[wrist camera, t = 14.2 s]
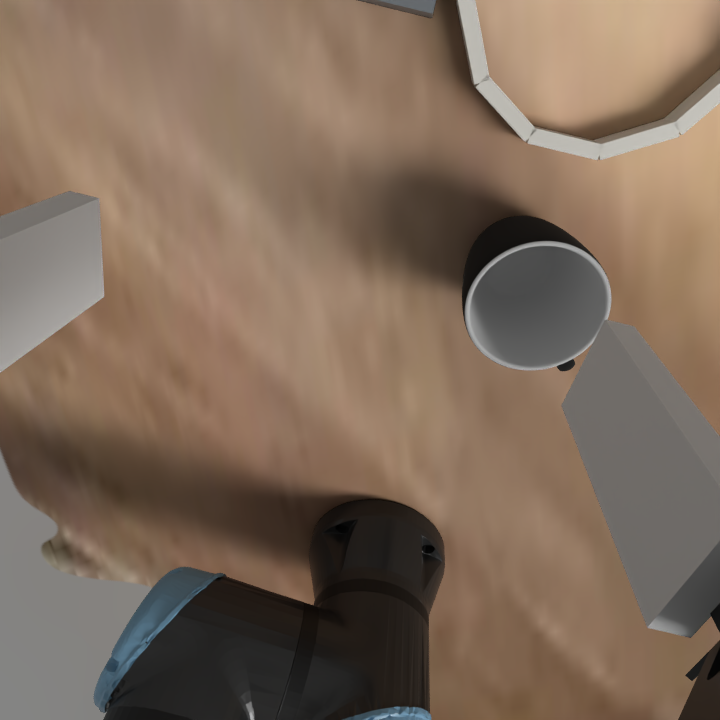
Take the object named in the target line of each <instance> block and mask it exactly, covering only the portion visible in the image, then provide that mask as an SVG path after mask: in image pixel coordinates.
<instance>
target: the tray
mask: <svg viewBox="0 0 720 720" xmlns="http://www.w3.org/2000/svg"><path fill="white" fill-rule="evenodd" d="M358 1H362V2H366V3H371V4H375V5H379V6H383V7H387V8H391V9H395V10H399V11H403V12H408V13H412V14H416V15H420V16H424V17H428V18H432V16H433V12H434V8H435V4H436V0H358Z"/></svg>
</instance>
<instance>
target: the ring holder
mask: <svg viewBox="0 0 720 720" xmlns="http://www.w3.org/2000/svg"><path fill="white" fill-rule="evenodd" d="M456 5H457V10H458V15H459V20H460V25H461V30H462V35H463V40H464V45H465V50H466V55H467V60H468V65H469V70H470V75H471V80H472V84H474V87H475V88H476V89H477V91H478V92H479V93H480V94H481V95H482V96H483V97H484V98H485V99H486V101H487V102H488V103H489V104H490V105H491V106H492V107H493V108H494V109H495V110H496V112H497V113H498V114H499V115H500V116H501V117H502V118H503V119H504V120H505V122H506V123H507V124H508V125H509V126H510V127H511V128H512V129H513V130H514V131H515V133H516V134H517V135H518V136H519V137H520V138H521V139H522V140H523V141H525V142H526V143H528V144H532V145H537V146H541V147H545V148H549V149H553V150H557V151H561V152H565V153H570V154H574V155H578V156H582V157H586V158H590V159H594V160H598V159H599V160H602V159H606V158H609V157H612V156H616V155H619V154H622V153H626V152H629V151H633V150H636V149H639V148H643V147H646V146H649V145H653V144H656V143H660V142H663V141H666V140H670V139H673V138H677V137H679V134H680V135H683V134H684V133H685V132H686V131H687V130H689V129H690V128H691V127H692V126H693V125H695V124H696V123H697V122H698V121H699V120H700V119H702V118H703V117H704V116H705V115H706V114H707V113H709V112H710V111H711V110H712V109H713V108H714V107H716V106H717V105H718V104H719V103H720V69H719V70H718V71H717V72H716V73H715V74H714V75H712V76H711V77H710V78H709V79H708V80H707V81H706V82H705V83H703V84H702V85H701V86H700V87H699V88H698V89H697V90H696V91H694V92H693V93H692V94H691V95H690V96H689V97H688V98H686V99H685V100H684V101H683V102H682V103H681V104H680V105H679V106H677V107H676V108H675V109H674V110H673V111H672V112H671V113H670V114H668V115H667V116H666V117H665V118H664V119H661V120H658V121H655V122H651V123H648V124H645V125H641V126H638V127H635V128H632V129H628V130H625V131H622V132H619V133H615V134H612V135H609V136H605V137H602V138H599V139H596V140H590V139H586V138H582V137H578V136H573V135H569V134H565V133H561V132H557V131H553V130H549V129H545V128H540V127H536V126H533V125H532V124H531V123H530V122H529V121H528V119H527V118H526V117H525V116H524V115H523V114H522V113H521V112H520V110H519V109H518V108H517V107H516V106H515V105H514V104H513V103H512V101H511V100H510V99H509V98H508V97H507V96H506V95H505V94H504V92H503V91H502V90H501V89H500V88H499V87H498V86H497V85H496V83H495V82H494V81H493V80H492V79H491V78H490V77H489V72H488V67H487V61H486V56H485V51H484V45H483V40H482V34H481V29H480V24H479V18H478V13H477V7H476V2H475V0H456Z"/></svg>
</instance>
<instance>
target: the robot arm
mask: <svg viewBox="0 0 720 720" xmlns="http://www.w3.org/2000/svg"><path fill="white" fill-rule="evenodd" d="M103 297H104V282H103V263H102V243H101V223H100V203H99V198H96V197H92V196H88V195H84V194H80V193H75V192H71V191H68V192H66V193H63V194H60V195H57V196H55V197H52V198H49V199H46V200H44V201H41V202H38V203H35V204H33V205H30V206H27V207H25V208H22V209H19V210H16V211H14V212H11V213H8V214H5V215H3V216H0V372H2V371H3V370H5V369H6V368H7V367H9V366H10V365H11V364H13V363H14V362H15V361H17V360H18V359H20V358H21V357H22V356H24V355H25V354H26V353H28V352H29V351H31V350H32V349H33V348H35V347H36V346H37V345H39V344H40V343H42V342H43V341H44V340H46V339H47V338H48V337H50V336H51V335H52V334H54V333H55V332H57V331H58V330H59V329H61V328H62V327H63V326H65V325H66V324H68V323H69V322H70V321H72V320H73V319H74V318H76V317H77V316H78V315H80V314H81V313H83V312H84V311H85V310H87V309H88V308H89V307H91V306H92V305H94V304H95V303H96V302H98V301H99V300H100V299H102V298H103ZM562 408H563V411H564V414H565V416H566V419H567V421H568V424H569V427H570V429H571V432H572V434H573V437H574V439H575V442H576V445H577V447H578V450H579V452H580V455H581V458H582V460H583V463H584V465H585V468H586V470H587V473H588V476H589V478H590V481H591V483H592V486H593V489H594V491H595V494H596V496H597V499H598V501H599V504H600V507H601V509H602V512H603V514H604V517H605V519H606V522H607V525H608V527H609V530H610V532H611V535H612V538H613V540H614V543H615V545H616V548H617V550H618V553H619V556H620V558H621V561H622V563H623V566H624V569H625V571H626V574H627V576H628V579H629V581H630V584H631V587H632V589H633V592H634V594H635V597H636V600H637V602H638V605H639V607H640V610H641V612H642V615H643V618H644V620H645V623H646V625H647V628H651V629H656V630H660V631H664V632H668V633H673V634H677V635H681V636H685V637H690V638H691V637H692V636H693V635H694V634H695V633H696V632H697V631H698V629H699V628H700V627H701V626H702V625H703V624H704V623H705V622H706V621H707V620H708V619H709V618H710V617H711V616H712V618H713V620H714V622H715V624H716V626H717V628H718V630H719V632H720V436H719V435H718V434H717V433H716V431H715V430H714V429H713V427H712V426H711V425H710V424H709V422H708V421H707V420H706V418H705V417H704V416H703V415H702V413H701V412H700V411H699V409H698V408H697V407H696V406H695V404H694V403H693V402H692V400H691V399H690V398H689V396H688V395H687V394H686V393H685V391H684V390H683V389H682V387H681V386H680V385H679V384H678V382H677V381H676V380H675V378H674V377H673V376H672V375H671V373H670V372H669V371H668V369H667V368H666V367H665V366H664V364H663V363H662V362H661V360H660V359H659V358H658V357H657V355H656V354H655V353H654V351H653V350H652V349H651V348H650V346H649V345H648V344H647V342H646V341H645V340H644V338H643V337H642V336H641V335H640V333H639V332H638V331H637V329H636V328H635V327H634V326H630V325H626V324H622V323H618V322H614V321H609V320H604V322H603V324H602V326H601V328H600V330H599V332H598V334H597V336H596V338H595V340H594V342H593V344H592V346H591V348H590V350H589V352H588V354H587V356H586V358H585V360H584V362H583V364H582V366H581V368H580V370H579V372H578V374H577V376H576V378H575V380H574V382H573V384H572V386H571V388H570V390H569V392H568V394H567V396H566V398H565V400H564V402H563V404H562ZM309 561H310V569H311V576H312V583H313V591H314V598H315V601H314V606H313V605H310V604H307V603H304V602H302V601H298V600H295V599H292V598H289V597H286V596H283V595H280V594H276V593H273V592H270V591H267V590H264V589H261V588H259V587H256V586H253V585H250V584H247V583H244V582H241V581H238V580H235V579H232V578H229V577H227V576H226V575H225V574H223V573H217V574H214V573H210V572H206V571H202V570H198V569H195V568H191V567H179V568H176V569H174V570H172V571H170V572H168V573H167V574H166V575H165V576H164V577H162V578H161V579H160V580H159V581H158V582H157V584H156V585H155V586H154V587H153V588H152V589H151V591H150V592H149V593H148V595H147V596H146V597H145V599H144V600H143V601H142V603H141V604H140V606H139V607H138V609H137V610H136V612H135V613H134V615H133V616H132V618H131V619H130V621H129V623H128V624H127V626H126V628H125V629H124V631H123V633H122V634H121V636H120V638H119V640H118V641H117V643H116V645H115V647H114V649H113V651H112V657H111V658H110V659H109V661H108V662H107V664H106V666H105V668H104V670H103V671H102V673H101V675H100V678H99V680H98V683H97V685H96V689H95V692H94V702H95V705H96V706H97V707H98V708H99V710H100V711H101V712H104V713H105V712H107V713H106V715H105V717H104V719H103V720H431V715H430V694H429V614H430V611H431V608H432V605H433V603H434V600H435V597H436V594H437V592H438V589H439V586H440V583H441V581H442V578H443V574H444V568H445V554H444V543H443V540H442V537H441V535H440V533H439V532H438V530H437V529H436V527H435V526H434V525H433V524H432V523H431V522H430V521H429V520H428V519H427V518H425V517H424V516H423V515H421V514H420V513H418V512H416V511H415V510H413V509H411V508H408V507H406V506H403V505H400V504H397V503H393V502H389V501H382V500H360V501H354V502H349V503H346V504H343V505H340V506H338V507H336V508H334V509H332V510H330V511H329V512H328V513H326V514H325V515H324V516H323V517H322V518H321V519H320V520H319V522H318V523H317V525H316V527H315V529H314V532H313V536H312V540H311V544H310V549H309ZM685 676H687V677H688V678H689V679H690V680H692V681H693V680H694V679H695V678H696V677H697V676H698V677H697V679H696V682H695V684H694V686H693V688H692V691H691V693H690V695H689V697H688V699H687V702H686V704H685V706H684V708H683V710H682V713H681V715H680V717H679V719H678V720H720V641H719V642H718V643H717V644H716V645H715V646H714V647H713V648H712V649H711V650H710V651H709V652H708V653H707V654H706V655H705V656H704V657H703V658H702V659H701V660H700V661H699V662H698V663H697V664H696V665H695V666H694V667H693V668H692V669H691V670H690V671H689V672H688V673H687V674H686V675H685Z"/></svg>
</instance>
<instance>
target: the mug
mask: <svg viewBox="0 0 720 720" xmlns="http://www.w3.org/2000/svg"><path fill="white" fill-rule="evenodd" d="M462 306H463V315H464V321H465V325H466V329H467V331H468V334H469V336H470V338H471V340H472V341H473V343H474V344H475V346H476V347H477V348H478V349H479V350H480V351H481V352H482V353H483V354H484V355H485V356H486V357H488V358H489V359H491V360H492V361H494V362H496V363H498V364H500V365H503V366H505V367H509V368H513V369H518V370H541V369H547V368H551V367H555V366H557V368H558V369H559V370H560V371H567V370H570V369H571V368H573V367H574V365H575V362H574V360H573V358H575V357H577V356H578V355H579V354H581V353H582V352H583V351H585V350H586V349H587V348H588V347H589V346H590V345H591V344H592V343H593V342H594V340H595V338H596V336H597V334H598V332H599V330H600V328H601V326H602V324H603V322H604V320H607V319H608V316H609V312H610V308H611V289H610V285H609V281H608V278H607V275H606V273H605V271H604V269H603V268H602V266H601V265H600V263H599V262H598V261H597V259H596V258H595V257H594V256H593V255H592V254H591V253H590V251H589V250H588V249H586V248H585V247H584V246H583V245H582V244H581V243H580V242H579V241H578V240H576V239H575V238H574V237H573V236H571V235H570V234H568V233H567V232H566V231H564V230H563V229H561V228H559V227H558V226H556V225H554V224H552V223H550V222H548V221H545V220H543V219H539V218H536V217H531V216H514V217H509V218H505V219H503V220H500V221H498V222H496V223H494V224H492V225H491V226H489V227H488V228H487V229H486V230H485V231H483V232H482V233H481V235H480V236H479V237H478V238H477V240H476V241H475V243H474V244H473V246H472V248H471V250H470V252H469V255H468V258H467V261H466V265H465V270H464V275H463V287H462Z"/></svg>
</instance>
